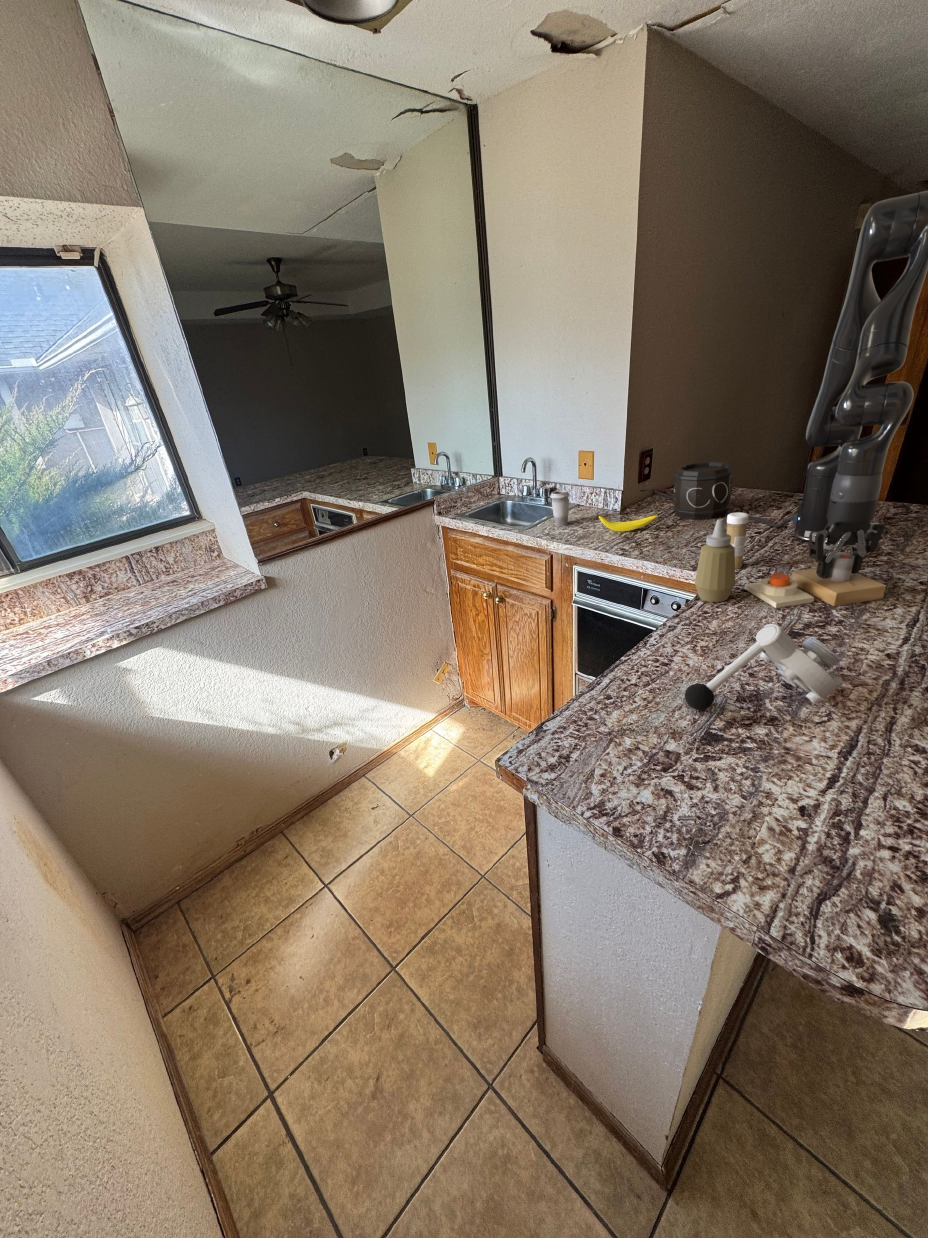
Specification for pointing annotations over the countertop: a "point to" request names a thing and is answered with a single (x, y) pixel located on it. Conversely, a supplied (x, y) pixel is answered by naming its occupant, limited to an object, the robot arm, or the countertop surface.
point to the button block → (779, 593)
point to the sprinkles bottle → (737, 534)
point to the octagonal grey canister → (703, 490)
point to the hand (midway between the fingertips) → (837, 574)
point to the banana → (626, 524)
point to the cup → (560, 507)
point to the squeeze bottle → (716, 566)
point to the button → (779, 580)
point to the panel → (839, 588)
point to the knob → (841, 567)
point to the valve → (789, 661)
